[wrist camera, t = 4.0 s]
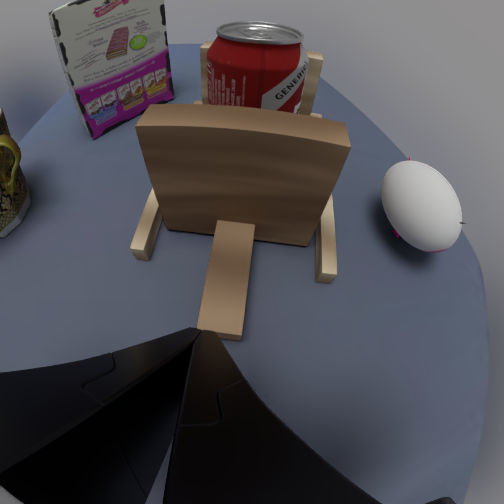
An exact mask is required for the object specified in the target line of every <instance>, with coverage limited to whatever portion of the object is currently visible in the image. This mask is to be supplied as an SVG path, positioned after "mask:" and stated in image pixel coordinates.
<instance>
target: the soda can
mask: <svg viewBox="0 0 504 504" xmlns="http://www.w3.org/2000/svg"><path fill="white" fill-rule="evenodd" d="M216 32H217V35H218V37H217V38H216V39H215V41H214V42H213V43H212V45H211V46H210V47H209V49H208V51H207V86H208V105H226V106H239V107H250V108H259V109H268V110H275V111H283V112H289V113H296V114H298V113H299V108H300V103H301V99H302V94H303V89H304V84H305V79H306V74H307V70H308V65H309V57H308V55H307V53H306V51H305V49H304V47H303V45H302V43H301V42H302V41H303V38H304V35H303V33H302V32H300V31H298V30H297V29H294V28H291V27H288V26H284V25H280V24H276V23H269V22H259V21H241V22H232V23H227V24H223V25H221V26H219V27H218V28H217V31H216Z"/></svg>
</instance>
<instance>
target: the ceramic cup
mask: <svg viewBox="0 0 504 504" xmlns="http://www.w3.org/2000/svg"><path fill="white" fill-rule="evenodd" d="M20 160H21V151H20V148H19V146H18V145H17V143H16V142H15V141H14V140H13V139H12V138H11V136H10V133H9V129H8V126H7V122H6V119H5V116H4V113H3V110H2V108H0V237H5V236H7V235H8V234H9V233H10V232H11V231H12V230H13V229H14V228H15V227H16V226H18V225H19V224H20V223H21V222H22V220H23V218H24V216H25V214H26V212H27V210H28V208H29V206H30V204H31V197H30V193H29V188H28V184H27V182H26V180H25V177H24V175H23V173H22V170H21V168H20V165H19V163H20Z"/></svg>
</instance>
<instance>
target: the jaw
mask: <svg viewBox="0 0 504 504" xmlns="http://www.w3.org/2000/svg"><path fill="white" fill-rule="evenodd" d="M135 128H136V132H137V136H138V139H139V143H140V147H141V150H142V154H143V157H144V161H145V164H146V167H147V171H148V174H149V177H150V180H151V184H152V187H153V190H154V193H155V196H156V199H157V202H158V205H159V208H160V211H161V214H162V217H163V220H164V223H165V226H166V229H171V230H180V231H188V232H197V233H205V234H214V239H213V244H212V249H211V254H210V259H209V264H208V270H207V275H206V280H205V285H204V291H203V296H202V302H201V307H200V313H199V319H198V325H197V328H198V329H201V330H202V331H203V330H211V331H215V332H216V333H217V335H218V336H219V338H221V339H229V340H237V341H241V336H242V329H243V320H244V312H245V304H246V295H247V287H248V279H249V271H250V262H251V254H252V246H253V239H255V240H263V241H271V242H278V243H286V244H294V245H302V246H308V244H309V241H310V239H311V237H312V235H313V233H314V231H315V229H316V226H317V224H318V222H319V220H320V218H321V216H322V213H323V211H324V209H325V207H326V205H327V202H328V200H329V198H330V196H331V193H332V191H333V189H334V186H335V184H336V182H337V180H338V177H339V175H340V173H341V170H342V168H343V165H344V163H345V161H346V158H347V156H348V154H349V151H350V149H351V145H350V141H349V137H348V133H347V129H346V125H345V123H342V122H337V121H333V120H328V119H323V118H318V117H313V116H307V115H302V114H296V113H289V112H283V111H275V110H268V109H259V108H250V107H239V106H226V105H208V104H150V105H149V107H148V108H147V109H146V111H145V112H144V114H143V115H142V116H141V118H140V119H139V121H138V122H137V124H136V125H135Z"/></svg>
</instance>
